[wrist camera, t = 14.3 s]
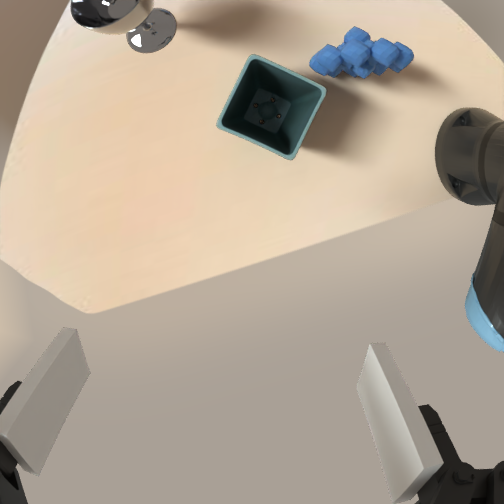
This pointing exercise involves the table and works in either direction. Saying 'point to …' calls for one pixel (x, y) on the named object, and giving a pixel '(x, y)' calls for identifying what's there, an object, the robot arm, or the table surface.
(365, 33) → the grapes
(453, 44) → the table surface
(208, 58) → the table surface
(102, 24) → the wine glass
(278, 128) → the flower pot
